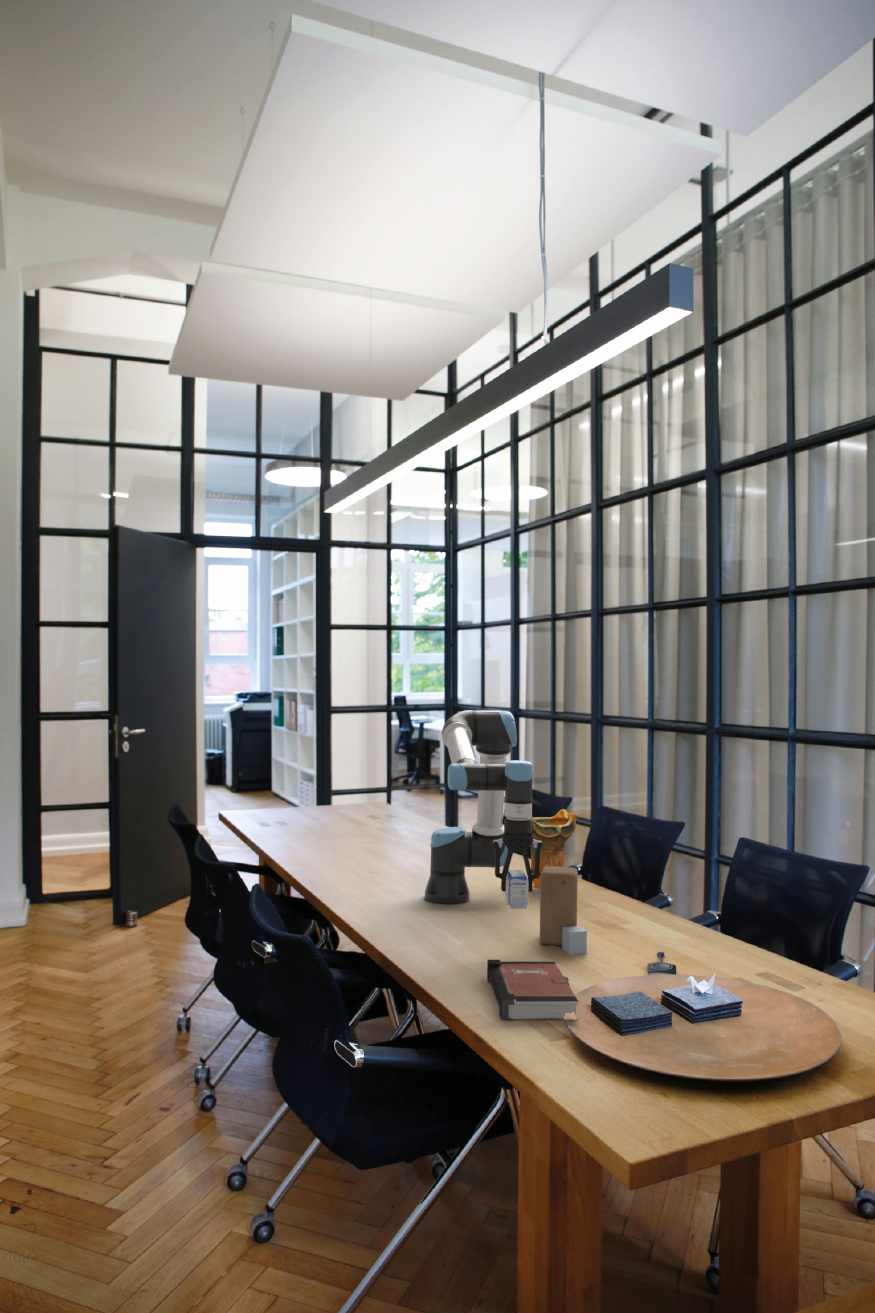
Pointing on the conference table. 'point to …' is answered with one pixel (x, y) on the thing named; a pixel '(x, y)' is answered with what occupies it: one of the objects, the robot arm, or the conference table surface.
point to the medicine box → (517, 889)
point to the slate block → (574, 940)
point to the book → (530, 990)
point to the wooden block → (557, 902)
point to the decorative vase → (551, 840)
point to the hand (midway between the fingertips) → (516, 903)
